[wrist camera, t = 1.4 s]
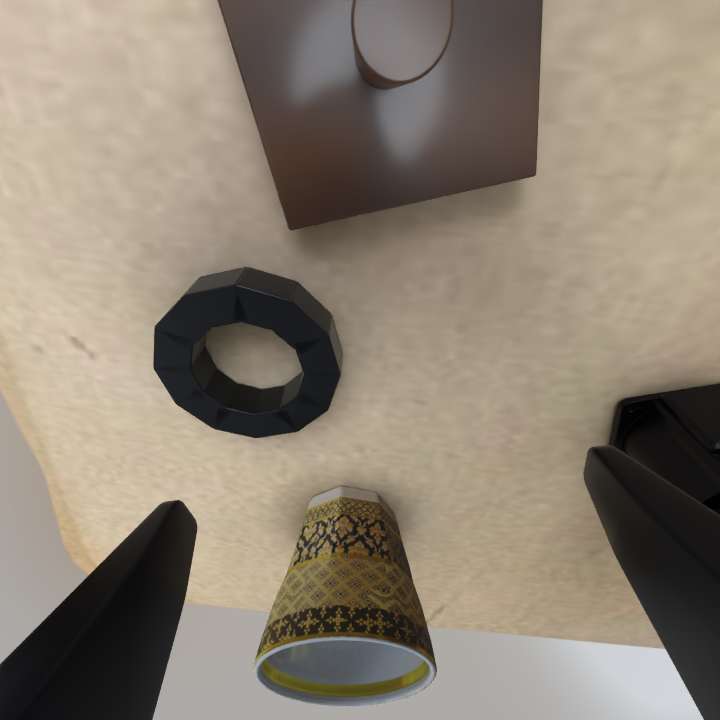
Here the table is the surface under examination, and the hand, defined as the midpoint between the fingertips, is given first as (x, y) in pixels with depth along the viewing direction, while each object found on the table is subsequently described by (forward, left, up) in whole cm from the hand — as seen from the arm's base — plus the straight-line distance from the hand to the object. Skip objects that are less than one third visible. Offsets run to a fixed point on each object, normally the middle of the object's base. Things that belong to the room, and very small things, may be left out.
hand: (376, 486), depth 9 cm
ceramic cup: (-20, +5, -12) cm, 24 cm away
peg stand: (+8, -2, -12) cm, 15 cm away
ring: (-3, +7, -12) cm, 14 cm away
